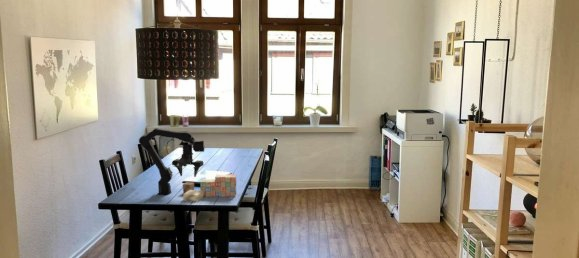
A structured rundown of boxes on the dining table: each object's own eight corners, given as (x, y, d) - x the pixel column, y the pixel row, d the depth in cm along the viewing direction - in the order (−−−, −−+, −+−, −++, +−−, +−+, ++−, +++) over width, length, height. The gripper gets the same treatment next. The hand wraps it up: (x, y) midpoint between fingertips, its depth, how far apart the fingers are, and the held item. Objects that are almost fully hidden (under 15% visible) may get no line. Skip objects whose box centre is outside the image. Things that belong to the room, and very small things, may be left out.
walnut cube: (183, 193, 280) (183, 184, 280) (186, 191, 285) (186, 182, 284) (190, 194, 279) (190, 184, 278) (194, 191, 284) (194, 182, 283)
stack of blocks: (200, 196, 275) (199, 177, 273) (202, 193, 281) (201, 174, 279) (235, 196, 275) (235, 177, 273) (236, 193, 281) (236, 174, 279)
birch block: (183, 200, 268) (183, 194, 267) (189, 196, 276) (189, 189, 276) (197, 201, 266) (197, 195, 265) (203, 197, 274) (203, 190, 274)
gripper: (167, 153, 273) (168, 178, 275) (195, 155, 268) (196, 181, 271) (175, 150, 283) (176, 174, 286) (203, 151, 279) (204, 176, 281)
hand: (188, 176), depth 281 cm, fingers open, 9 cm apart
